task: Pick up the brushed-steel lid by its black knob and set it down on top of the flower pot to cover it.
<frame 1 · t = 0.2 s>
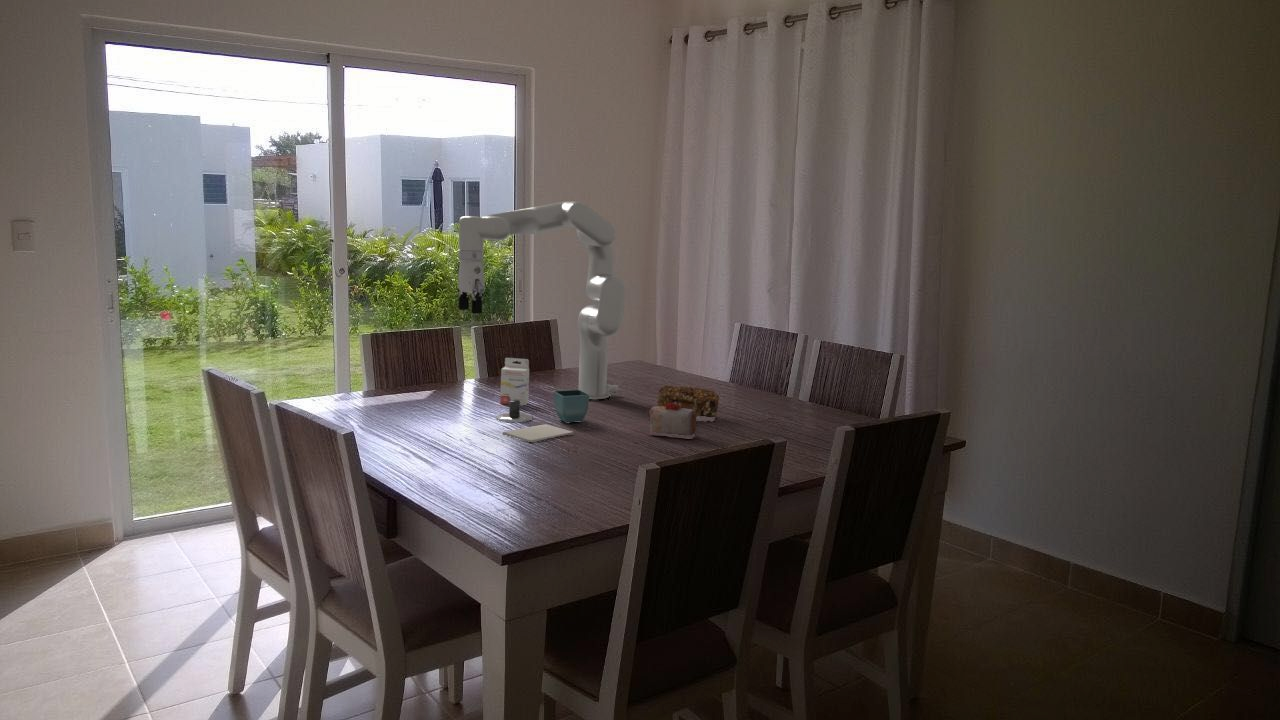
hand: (470, 311, 291), 31 cm above the table, tool pointing down, fingers open, 9 cm apart
bread: (687, 418, 294), on the table
food item: (671, 436, 269), on the table
lid: (514, 419, 283), on the table
ink cartridge box: (514, 404, 304), on the table
flower pot: (570, 422, 282), on the table
linen napkin: (538, 434, 264), on the table
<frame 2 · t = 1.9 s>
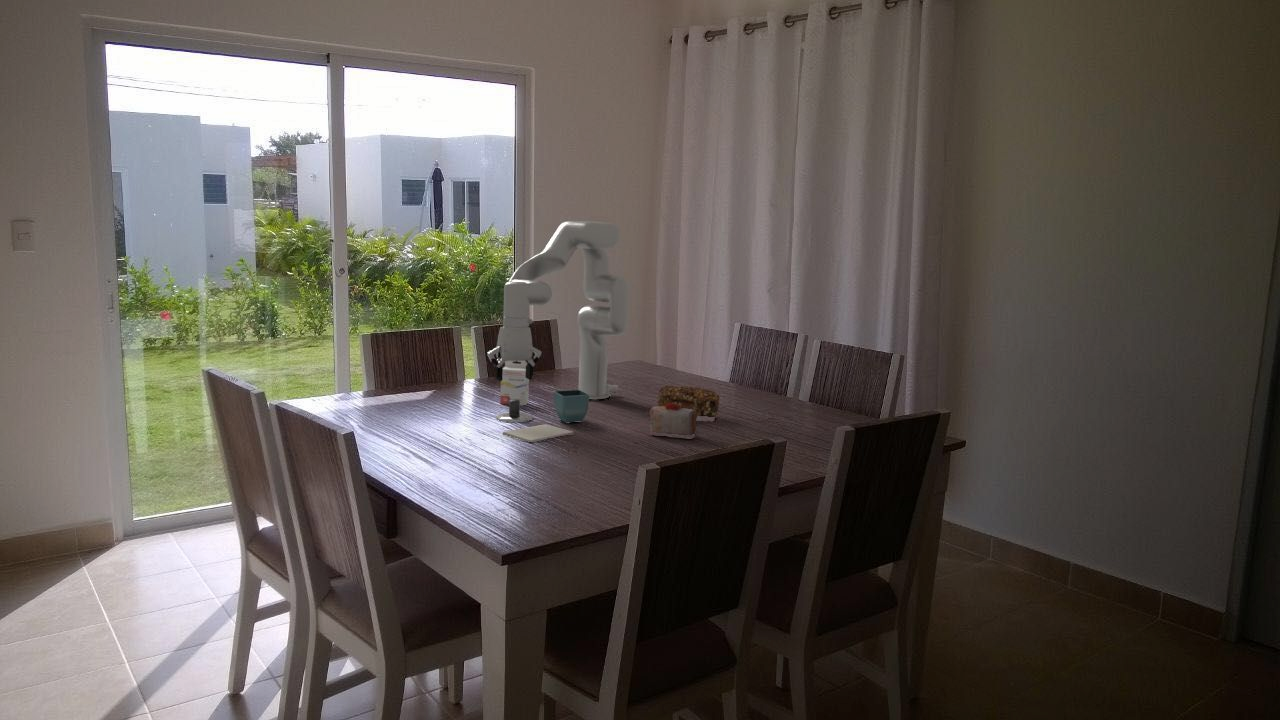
hand: (514, 379, 281), 12 cm above the table, tool pointing down, fingers open, 9 cm apart
nothing on the table moved.
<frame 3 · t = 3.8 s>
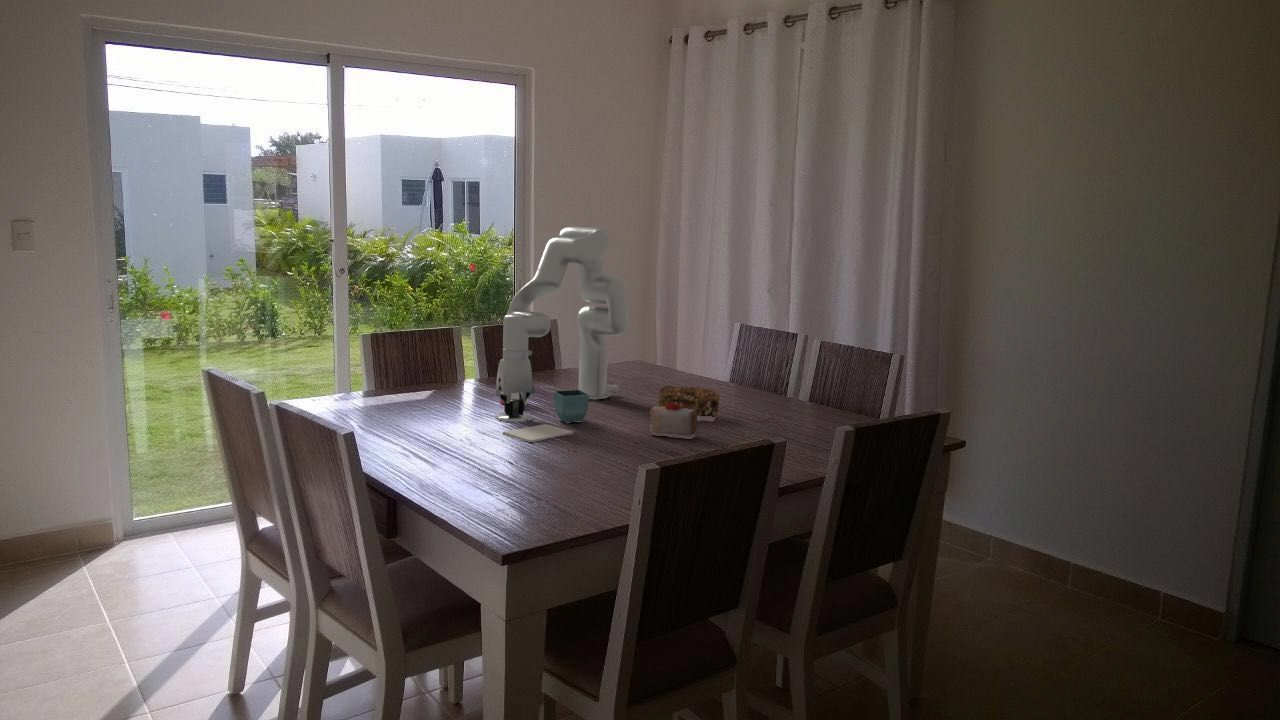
hand: (514, 414, 283), 1 cm above the table, tool pointing down, fingers closed on lid, 3 cm apart
lid: (514, 418, 283), on the table, touching gripper
everything else where it was.
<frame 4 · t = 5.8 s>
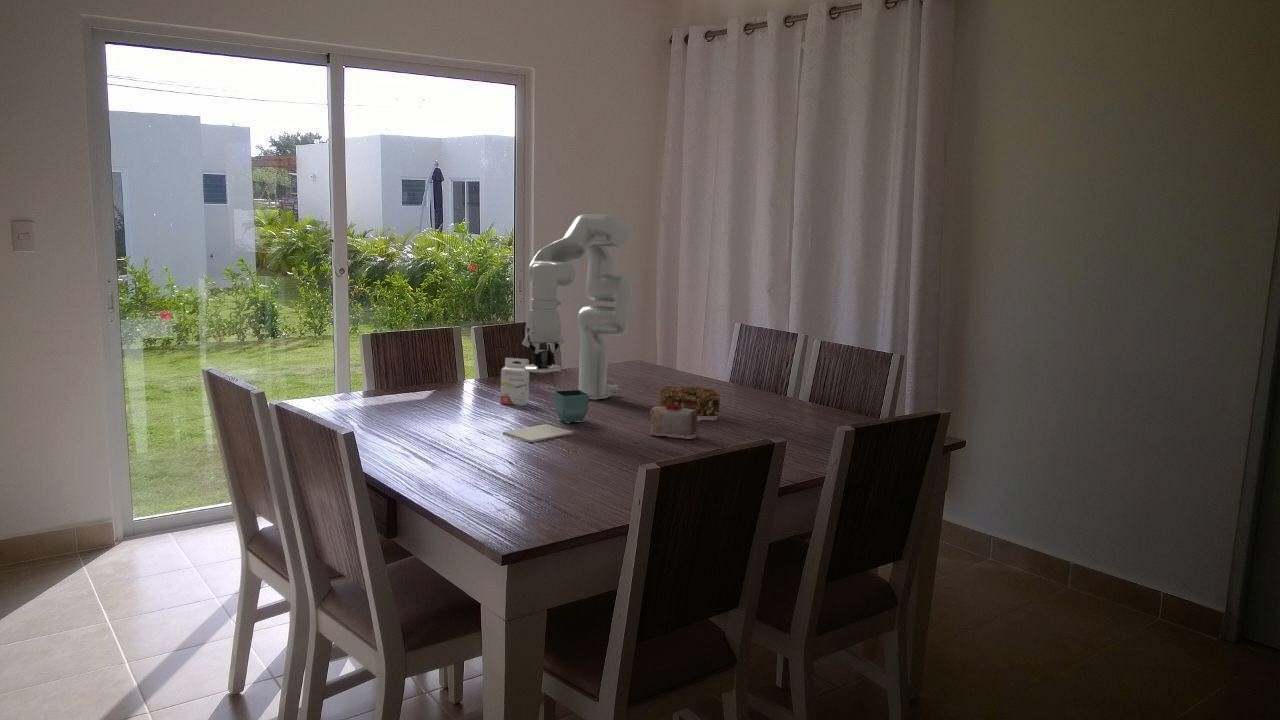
hand: (542, 365, 280), 17 cm above the table, tool pointing down, fingers closed on lid, 3 cm apart
lid: (542, 369, 280), point 16 cm above the table, touching gripper
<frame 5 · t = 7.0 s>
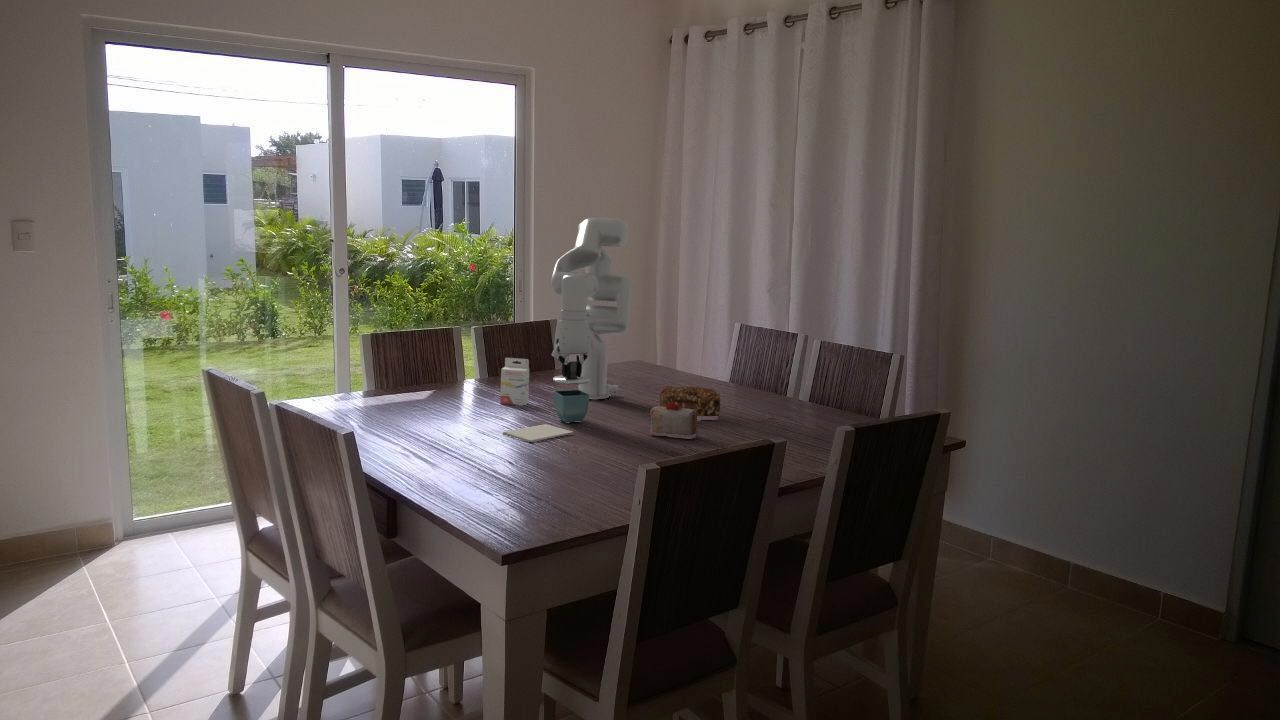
hand: (571, 376, 280), 14 cm above the table, tool pointing down, fingers closed on lid, 3 cm apart
lid: (571, 380, 280), point 13 cm above the table, touching gripper
everything else where it was.
when the fingers open (12 cm above the table, at t = 8.0 s): lid drops 1 cm, resting on flower pot.
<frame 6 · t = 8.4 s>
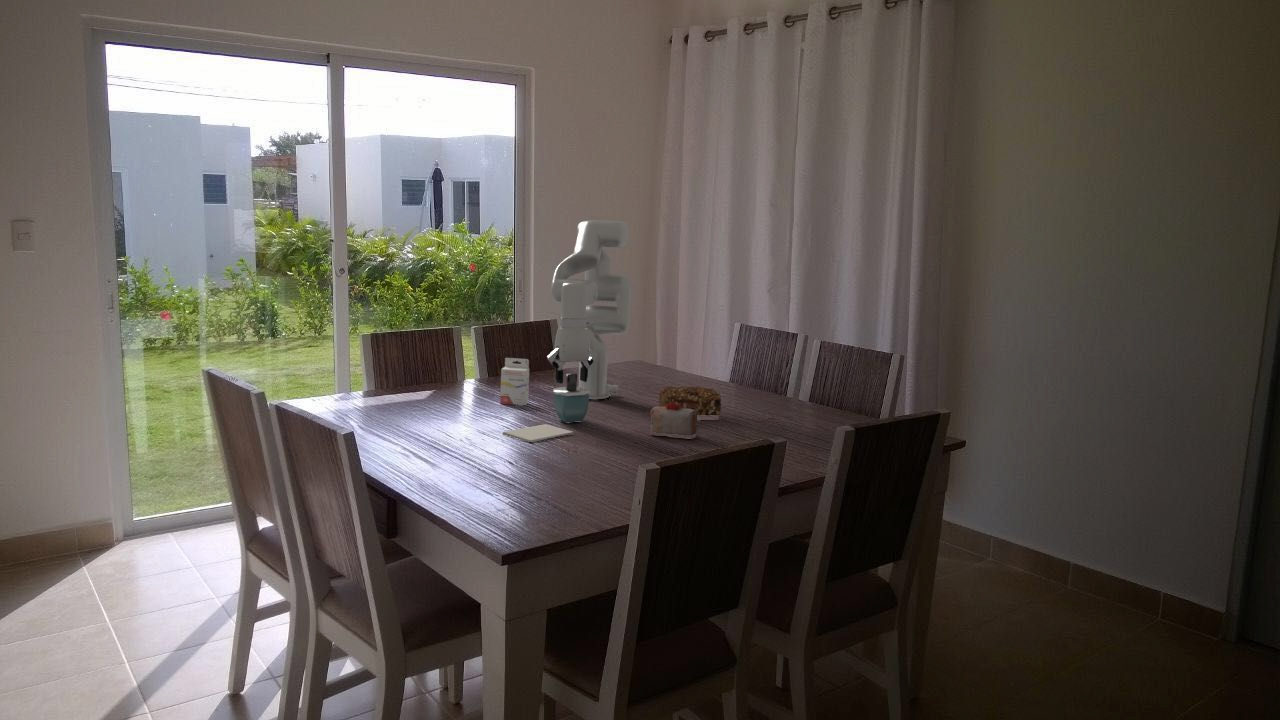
hand: (571, 381, 280), 12 cm above the table, tool pointing down, fingers open, 7 cm apart
lid: (571, 392, 281), point 9 cm above the table, touching flower pot
flower pot: (570, 422, 282), on the table, touching lid
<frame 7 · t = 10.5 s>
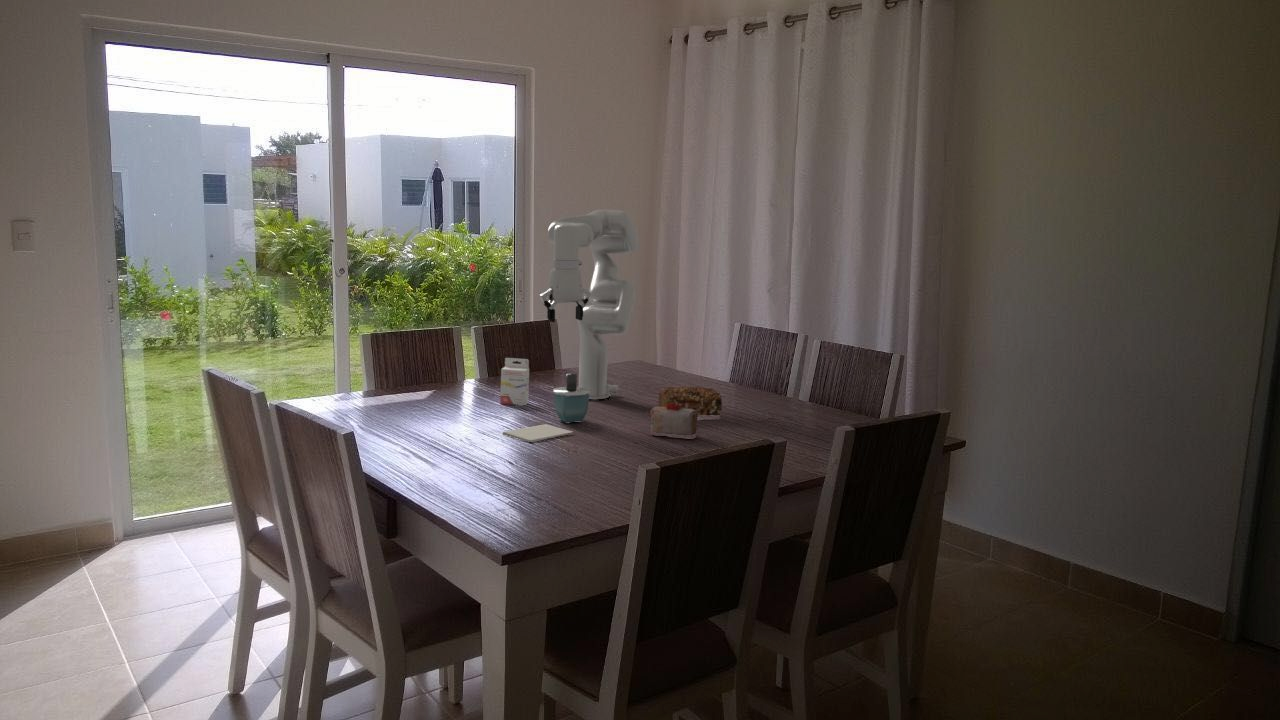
hand: (565, 320, 287), 29 cm above the table, tool pointing down, fingers open, 9 cm apart
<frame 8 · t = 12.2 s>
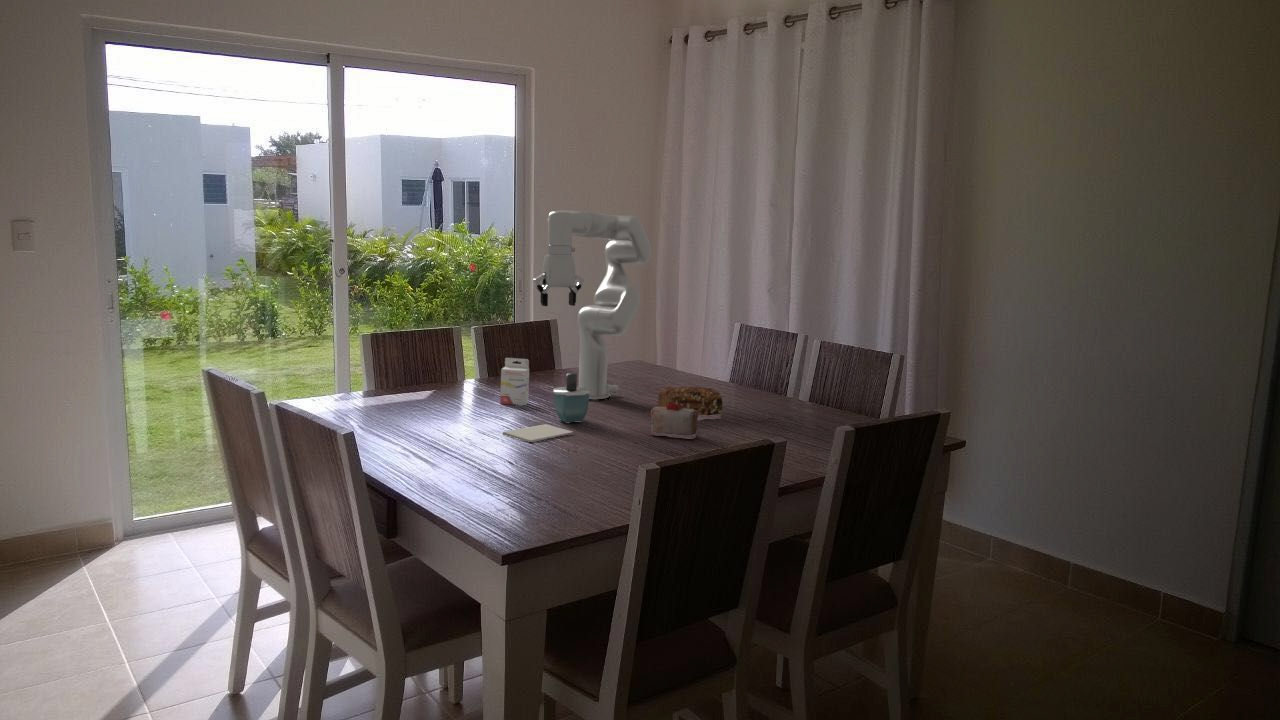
hand: (558, 305, 294), 33 cm above the table, tool pointing down, fingers open, 9 cm apart
at the end: lid 0.1 cm off-centre on the flower pot, point 9.1 cm above the flower pot's base; lid tilted 0°; the gripper is holding nothing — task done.
